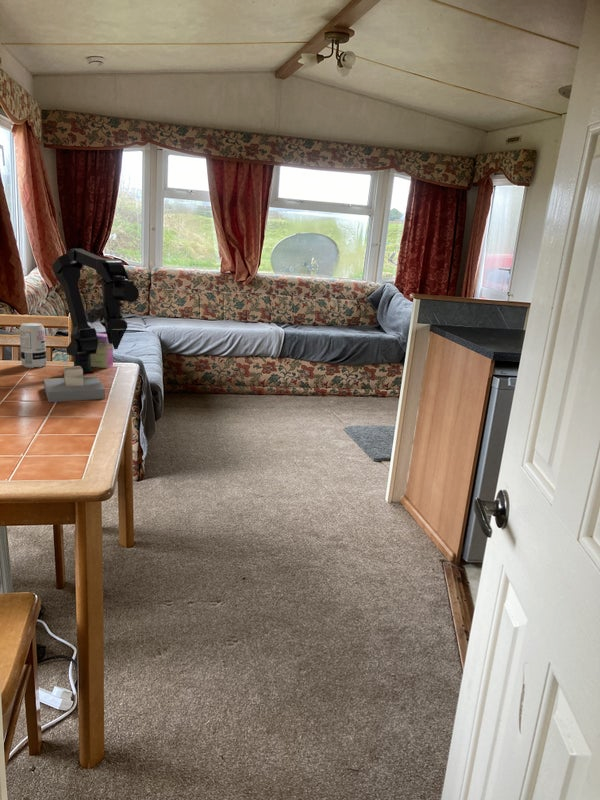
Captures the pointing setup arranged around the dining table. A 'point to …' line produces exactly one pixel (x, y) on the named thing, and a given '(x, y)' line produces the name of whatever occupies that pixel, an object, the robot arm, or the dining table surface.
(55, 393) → the base board
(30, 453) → the dining table surface
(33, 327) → the supplement can
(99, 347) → the box
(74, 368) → the cube
